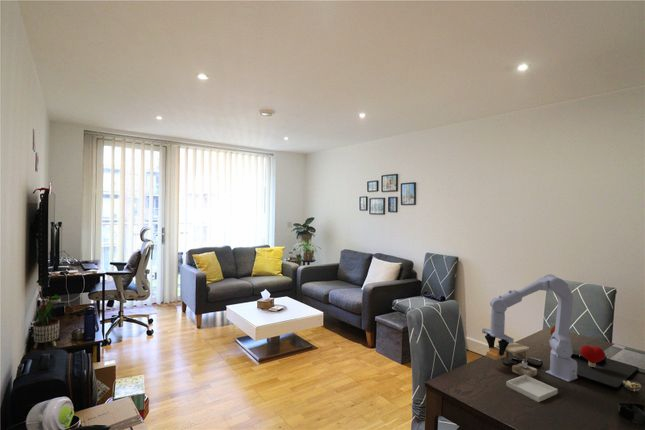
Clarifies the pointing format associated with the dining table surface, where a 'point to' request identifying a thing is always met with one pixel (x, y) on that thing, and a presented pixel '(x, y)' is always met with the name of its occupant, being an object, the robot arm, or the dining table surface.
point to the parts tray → (531, 388)
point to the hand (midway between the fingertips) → (496, 353)
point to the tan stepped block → (495, 353)
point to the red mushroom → (592, 354)
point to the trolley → (514, 352)
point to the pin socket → (521, 371)
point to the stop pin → (524, 364)
